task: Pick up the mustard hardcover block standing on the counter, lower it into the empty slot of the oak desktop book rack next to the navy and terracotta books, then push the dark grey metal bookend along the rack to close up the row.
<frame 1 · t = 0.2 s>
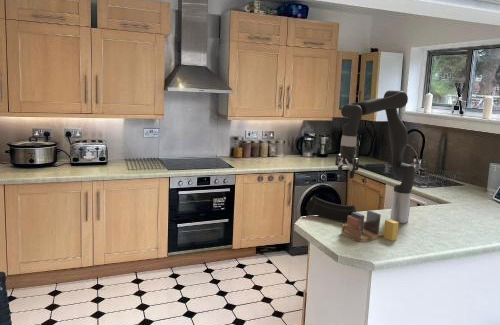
hand: (345, 176, 211), 29 cm above the worktop, tool pointing down, fingers open, 8 cm apart
book: (389, 238, 208), on the worktop
magazine: (330, 219, 234), on the worktop
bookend: (372, 221, 212), point 7 cm above the worktop, slide at 0.0 cm
shelf: (362, 235, 210), on the worktop
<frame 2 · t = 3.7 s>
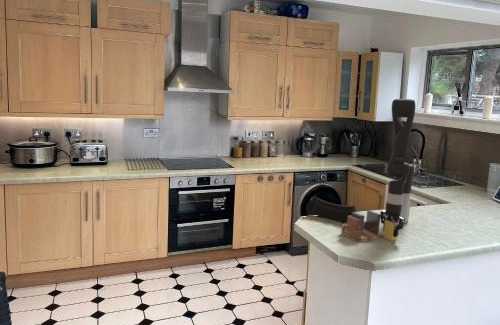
hand: (390, 234, 208), 2 cm above the worktop, tool pointing down, fingers closed on book, 5 cm apart
book: (389, 238, 208), on the worktop, touching gripper
everything else where it was.
when the fingers open (5 cm above the worktop, at t = 8.7 s): book drops 1 cm, resting on shelf.
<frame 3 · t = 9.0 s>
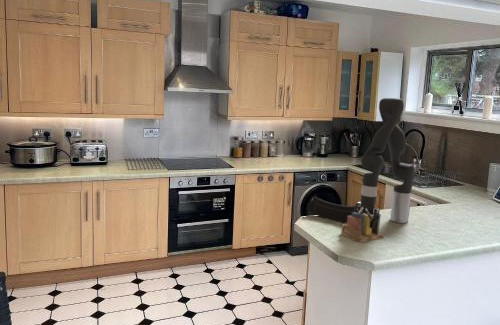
hand: (365, 225, 209), 5 cm above the worktop, tool pointing down, fingers open, 8 cm apart
book: (364, 232, 210), point 1 cm above the worktop, touching shelf
everything else where it was.
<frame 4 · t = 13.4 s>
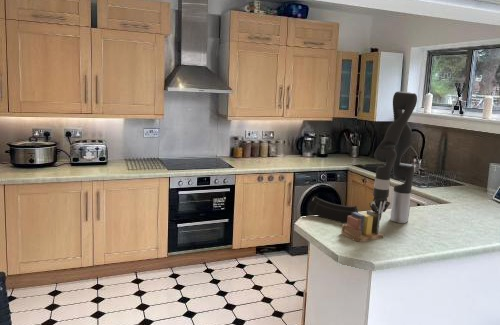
hand: (377, 220, 213), 7 cm above the worktop, tool pointing down, fingers closed
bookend: (372, 221, 211), point 7 cm above the worktop, slide at 0.3 cm, touching gripper
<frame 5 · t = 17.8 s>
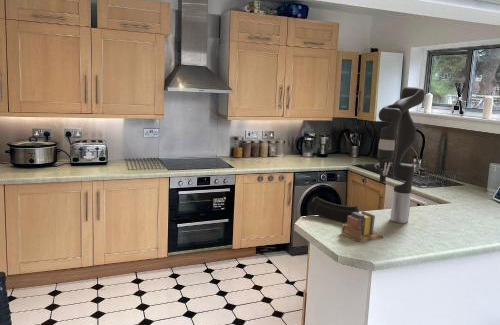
hand: (382, 182, 210), 27 cm above the worktop, tool pointing down, fingers closed
book: (362, 232, 209), point 1 cm above the worktop, touching shelf
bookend: (367, 222, 210), point 7 cm above the worktop, slide at 4.0 cm
at the end: book 1.2 cm from the target spot on the shelf, point 1.5 cm above the shelf's base; book tilted 0°; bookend slide at 4.0 cm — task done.
